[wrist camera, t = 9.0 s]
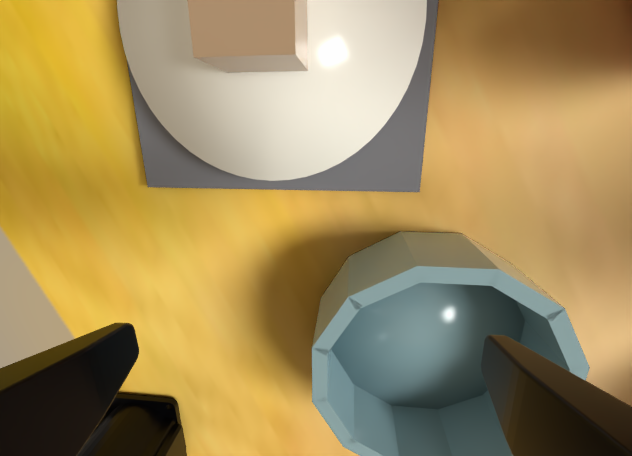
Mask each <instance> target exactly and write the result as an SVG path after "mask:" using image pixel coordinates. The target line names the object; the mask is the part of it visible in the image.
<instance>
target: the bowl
mask: <svg viewBox="0 0 632 456" xmlns="http://www.w3.org/2000/svg"><path fill="white" fill-rule="evenodd" d="M487 335H505V336H507V337H509V338H511V339H513V340H515V341H516V342H518V343H520V344H522V345H523V346H525V347H527V348H529V349H530V350H532V351H534V352H536V353H537V354H539V355H541V356H543V357H545V358H546V359H548V360H550V361H552V362H553V363H555V364H557V365H559V366H560V367H562V368H564V369H566V370H568V371H569V372H571V373H573V374H575V375H576V376H578V377H580V378H582V379H583V380H585V381H586V378H587V374H588V371H589V368H590V367H589V365H588V362H587V360H586V358H585V355H584V353H583V351H582V348H581V346H580V343H579V341H578V339H577V336H576V334H575V332H574V329H573V327H572V324H571V322H570V320H569V317H568V315H567V313H566V310H565V308H564V307H562V306H561V305H560V304H559V303H558V302H556V301H555V300H554V299H553V298H552V297H551V296H549V295H548V294H547V293H546V292H545V291H543V290H542V289H541V288H540V287H539V286H537V285H536V284H535V283H534V282H533V281H531V280H530V279H529V278H528V277H527V276H526V275H524V274H523V273H522V272H521V271H520V270H518V269H517V268H516V267H515V266H514V265H512V264H511V263H510V262H508V261H507V260H505V259H503V258H502V257H500V256H498V255H497V254H495V253H493V252H492V251H490V250H488V249H487V248H485V247H483V246H482V245H480V244H478V243H477V242H475V241H473V240H472V239H470V238H468V237H467V236H465V235H463V234H462V233H439V232H407V231H400V232H398V233H396V234H394V235H392V236H390V237H388V238H386V239H384V240H382V241H380V242H377V243H375V244H373V245H371V246H369V247H367V248H365V249H363V250H361V251H359V252H357V253H355V254H353V255H351V256H349V257H348V258H347V260H346V261H345V263H344V264H343V266H342V267H341V269H340V270H339V272H338V273H337V275H336V276H335V278H334V279H333V281H332V282H331V284H330V285H329V287H328V288H327V290H326V291H325V292H324V294H323V295H322V297H321V300H320V306H319V311H318V317H317V322H316V328H315V333H314V339H313V344H312V402H313V404H314V405H315V407H316V408H317V409H318V411H319V412H320V414H321V415H322V417H323V418H324V420H325V421H326V422H327V424H328V425H329V427H330V428H331V430H332V431H333V433H334V434H335V435H336V437H337V438H338V440H339V441H340V443H341V444H342V446H343V447H345V448H347V449H349V450H350V451H352V452H354V453H356V454H358V455H360V456H513V455H512V452H511V450H510V448H509V446H508V443H507V441H506V439H505V436H504V433H503V431H502V428H501V425H500V423H499V420H498V417H497V414H496V411H495V409H494V406H493V403H492V400H491V397H490V394H489V392H488V389H487V386H486V383H485V380H484V378H483V375H482V371H481V360H482V353H483V346H484V340H485V337H486V336H487Z"/></svg>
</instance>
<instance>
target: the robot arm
mask: <svg viewBox="0 0 632 456" xmlns="http://www.w3.org/2000/svg"><path fill="white" fill-rule="evenodd" d="M138 354H139V347H138V343H137V338H136V334H135V329H134V327H133V325H132V324H130V323H114V324H111V325H109V326H106V327H104V328H101V329H99V330H96V331H94V332H91V333H89V334H86V335H83V336H81V337H78V338H76V339H73V340H71V341H68V342H66V343H63V344H61V345H58V346H56V347H53V348H51V349H48V350H46V351H43V352H41V353H38V354H36V355H33V356H31V357H28V358H26V359H23V360H21V361H18V362H15V363H13V364H11V365H8V366H6V367H3V368H0V456H187V454H186V445H185V439H184V434H183V428H182V425H181V419H180V413H179V407H178V403H177V401H176V400H174V399H172V398H162V397H152V396H141V395H130V394H119V393H118V391H119V390H120V388H121V386H122V384H123V383H124V381H125V379H126V377H127V376H128V374H129V372H130V370H131V369H132V367H133V365H134V364H135V362H136V360H137V358H138ZM481 371H482V375H483V378H484V380H485V383H486V386H487V389H488V392H489V394H490V397H491V400H492V403H493V406H494V409H495V411H496V414H497V417H498V420H499V423H500V425H501V428H502V431H503V433H504V436H505V439H506V441H507V443H508V446H509V448H510V450H511V452H512V455H513V456H632V407H631V406H629V405H628V404H626V403H624V402H622V401H621V400H619V399H617V398H615V397H613V396H612V395H610V394H608V393H606V392H605V391H603V390H601V389H599V388H598V387H596V386H594V385H592V384H591V383H589V382H587V381H585V380H583V379H582V378H580V377H578V376H576V375H575V374H573V373H571V372H569V371H568V370H566V369H564V368H562V367H560V366H559V365H557V364H555V363H553V362H552V361H550V360H548V359H546V358H545V357H543V356H541V355H539V354H537V353H536V352H534V351H532V350H530V349H529V348H527V347H525V346H523V345H522V344H520V343H518V342H516V341H515V340H513V339H511V338H509V337H507V336H505V335H487V336H486V337H485V340H484V346H483V353H482V360H481Z"/></svg>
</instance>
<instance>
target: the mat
mask: <svg viewBox="0 0 632 456" xmlns="http://www.w3.org/2000/svg"><path fill="white" fill-rule="evenodd" d="M438 1H439V0H427V11H426V24H425V30H424V37H423V43H422V47H421V51H420V55H419V58H418V62H417V66H416V68H415V71H414V73H413V76H412V78H411V81H410V84H409V86H408V88H407V90H406V92H405V94H404V96H403V98H402V99H401V101H400V103H399V105H398V107H397V108H396V110H395V111H394V113H393V114H392V115H391V117H390V118H389V120H388V121H387V122H386V124H385V125H384V126H383V127H382V128H381V130H380V131H379V132H378V133H377V134H376V135H375V136H374V137H373V138H372V139H371V140H370V141H369V142H368V143H367V144H366V145H365V146H363V147H362V148H361V149H360V150H359V151H358V152H356V153H355V154H353V155H352V156H350V157H349V158H347V159H346V160H344V161H343V162H341V163H339V164H337V165H335V166H333V167H331V168H329V169H327V170H325V171H322V172H319V173H316V174H313V175H310V176H307V177H302V178H297V179H292V180H279V181H268V180H256V179H250V178H246V177H241V176H237V175H234V174H231V173H229V172H226V171H223V170H220V169H218V168H216V167H214V166H212V165H210V164H209V163H207V162H205V161H203V160H202V159H200V158H199V157H197V156H196V155H194V154H193V153H191V152H190V151H189V150H187V149H186V148H185V147H184V146H183V145H182V144H180V143H179V142H178V141H177V140H176V139H175V138H174V137H173V136H172V135H171V134H170V133H169V132H168V131H167V130H166V129H165V128H164V126H163V125H162V124H161V123H160V121H159V120H158V119H157V117H156V116H155V115H154V113H153V112H152V111H151V109H150V108H149V106H148V104H147V102H146V101H145V99H144V97H143V96H142V94H141V92H140V90H139V88H138V86H137V84H136V81H135V79H134V77H133V75H132V73H131V70H130V67H129V64H128V61H127V64H128V70H129V76H130V82H131V88H132V94H133V100H134V106H135V112H136V118H137V124H138V130H139V137H140V143H141V149H142V155H143V161H144V167H145V173H146V179H147V185H148V187H169V188H223V189H277V190H331V191H385V192H420V182H421V172H422V162H423V152H424V142H425V132H426V122H427V112H428V102H429V91H430V81H431V71H432V61H433V51H434V41H435V31H436V21H437V11H438Z"/></svg>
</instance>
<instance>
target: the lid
mask: <svg viewBox="0 0 632 456" xmlns="http://www.w3.org/2000/svg"><path fill="white" fill-rule="evenodd" d="M117 10H118V19H119V27H120V33H121V38H122V42H123V47H124V51H125V55H126V58H127V61H128V64H129V67H130V70H131V73H132V75H133V77H134V79H135V81H136V84H137V86H138V88H139V90H140V92H141V94H142V96H143V97H144V99H145V101H146V102H147V104H148V106H149V108H150V109H151V111H152V112H153V113H154V115H155V116H156V117H157V119H158V120H159V121H160V123H161V124H162V125H163V126H164V128H165V129H166V130H167V131H168V132H169V133H170V134H171V135H172V136H173V137H174V138H175V139H176V140H177V141H178V142H179V143H180V144H182V145H183V146H184V147H185V148H186V149H187V150H189V151H190V152H191V153H193V154H194V155H196V156H197V157H199V158H200V159H202V160H203V161H205V162H207V163H209V164H210V165H212V166H214V167H216V168H218V169H220V170H223V171H226V172H229V173H231V174H234V175H237V176H241V177H246V178H250V179H256V180H268V181H279V180H292V179H297V178H302V177H307V176H310V175H313V174H316V173H319V172H322V171H325V170H327V169H329V168H331V167H333V166H335V165H337V164H339V163H341V162H343V161H344V160H346V159H347V158H349V157H350V156H352V155H353V154H355V153H356V152H358V151H359V150H360V149H361V148H362V147H363V146H365V145H366V144H367V143H368V142H369V141H370V140H371V139H372V138H373V137H374V136H375V135H376V134H377V133H378V132H379V131H380V130H381V128H382V127H383V126H384V125H385V124H386V122H387V121H388V120H389V118H390V117H391V115H392V114H393V113H394V111H395V110H396V108H397V107H398V105H399V103H400V101H401V99H402V98H403V96H404V94H405V92H406V90H407V88H408V86H409V84H410V81H411V78H412V76H413V73H414V71H415V68H416V66H417V62H418V58H419V55H420V51H421V47H422V43H423V37H424V30H425V24H426V11H427V0H117Z"/></svg>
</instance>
